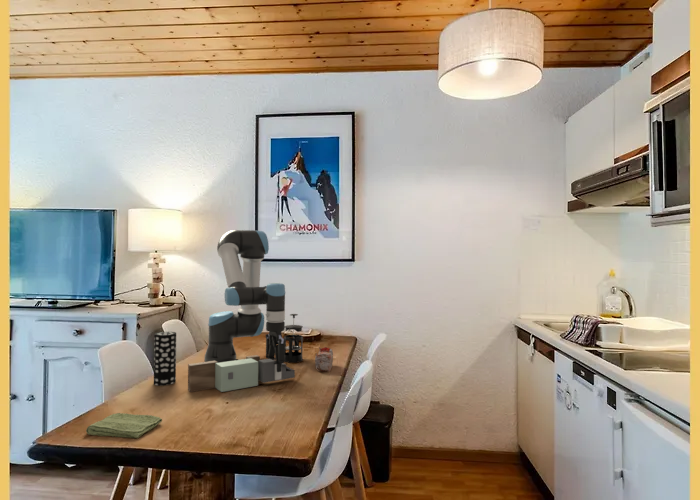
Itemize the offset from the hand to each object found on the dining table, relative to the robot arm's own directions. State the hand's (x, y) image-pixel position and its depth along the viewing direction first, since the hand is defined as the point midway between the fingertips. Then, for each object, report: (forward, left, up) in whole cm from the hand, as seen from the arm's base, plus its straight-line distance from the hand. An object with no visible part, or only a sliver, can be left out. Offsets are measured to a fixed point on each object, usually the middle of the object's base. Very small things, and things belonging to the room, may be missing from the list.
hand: (274, 377), depth 183 cm
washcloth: (+18, -58, -3) cm, 61 cm away
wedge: (0, +1, 0) cm, 1 cm away
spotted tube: (-25, -37, -2) cm, 45 cm away
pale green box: (-3, -15, -2) cm, 16 cm away
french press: (-30, +25, -2) cm, 39 cm away
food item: (-9, +29, -3) cm, 31 cm away
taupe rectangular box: (-9, -18, -2) cm, 20 cm away
